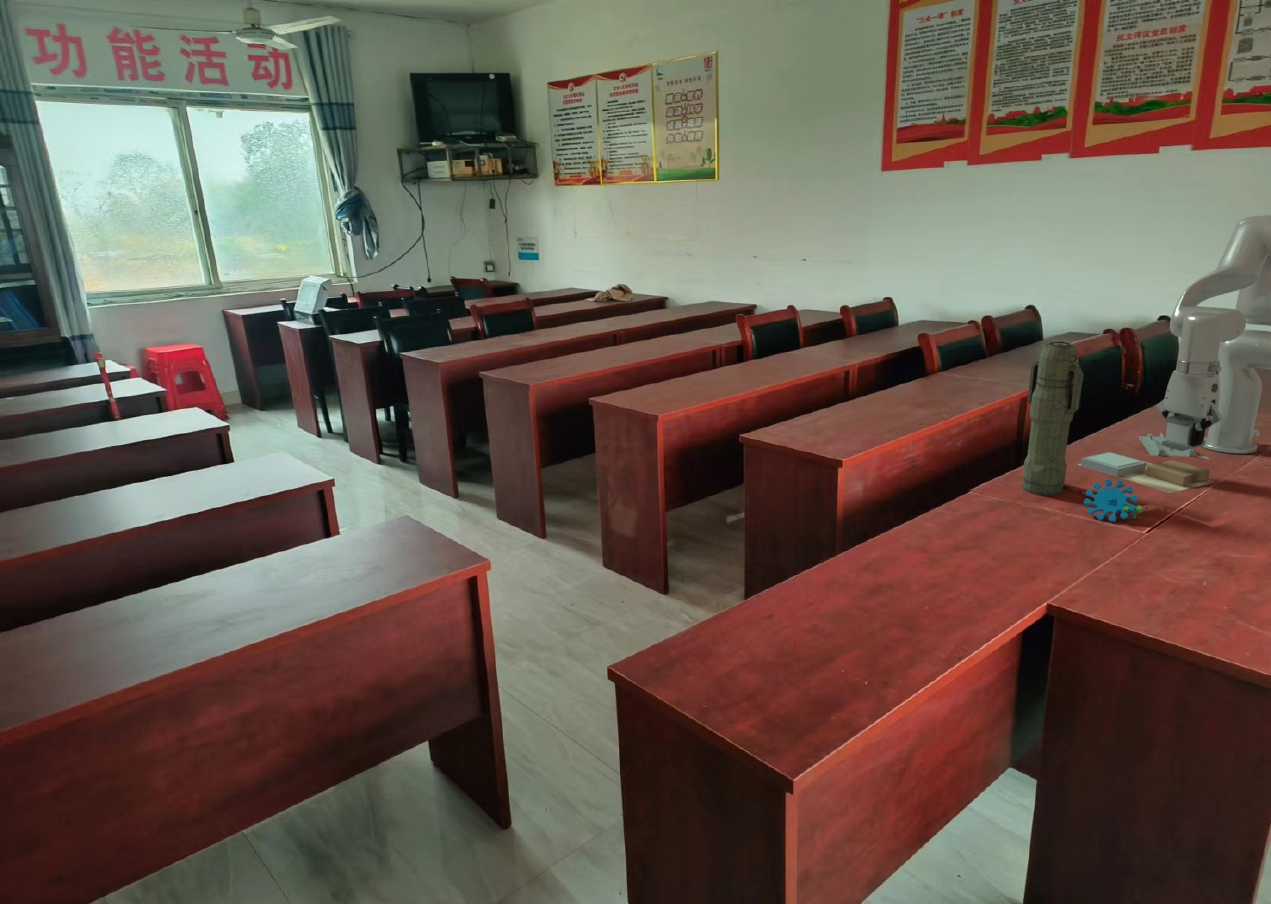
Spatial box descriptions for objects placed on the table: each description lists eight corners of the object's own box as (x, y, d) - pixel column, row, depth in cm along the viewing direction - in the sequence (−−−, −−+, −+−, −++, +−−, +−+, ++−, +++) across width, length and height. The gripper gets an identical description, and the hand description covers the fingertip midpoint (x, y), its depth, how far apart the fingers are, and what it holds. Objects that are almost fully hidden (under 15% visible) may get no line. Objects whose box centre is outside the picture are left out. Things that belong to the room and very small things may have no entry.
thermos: (1057, 500, 182) (1076, 349, 172) (1008, 487, 191) (1024, 343, 181) (1077, 491, 187) (1097, 344, 176) (1028, 479, 196) (1045, 338, 186)
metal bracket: (1131, 429, 215) (1192, 429, 212) (1125, 446, 218) (1186, 447, 215) (1150, 459, 203) (1216, 460, 200) (1144, 477, 206) (1208, 478, 203)
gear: (1074, 508, 173) (1097, 471, 175) (1077, 519, 177) (1100, 483, 179) (1128, 528, 166) (1152, 490, 167) (1130, 540, 170) (1153, 502, 171)
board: (1120, 458, 208) (1121, 454, 208) (1214, 485, 187) (1215, 481, 187) (1076, 468, 203) (1077, 464, 202) (1169, 497, 181) (1169, 493, 181)
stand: (1170, 469, 196) (1172, 460, 195) (1207, 480, 188) (1209, 470, 187) (1145, 475, 193) (1147, 465, 192) (1182, 486, 185) (1184, 476, 184)
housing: (1184, 439, 192) (1188, 411, 190) (1205, 445, 188) (1210, 416, 186) (1161, 445, 189) (1165, 417, 187) (1182, 451, 185) (1187, 422, 183)
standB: (1108, 459, 205) (1109, 451, 204) (1145, 470, 196) (1146, 461, 196) (1080, 465, 201) (1081, 457, 201) (1117, 476, 193) (1118, 468, 192)
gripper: (1246, 371, 176) (1231, 449, 182) (1170, 358, 191) (1159, 430, 197) (1223, 376, 174) (1210, 455, 180) (1149, 363, 189) (1138, 436, 195)
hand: (1183, 441), depth 188 cm, fingers closed on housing, 5 cm apart
